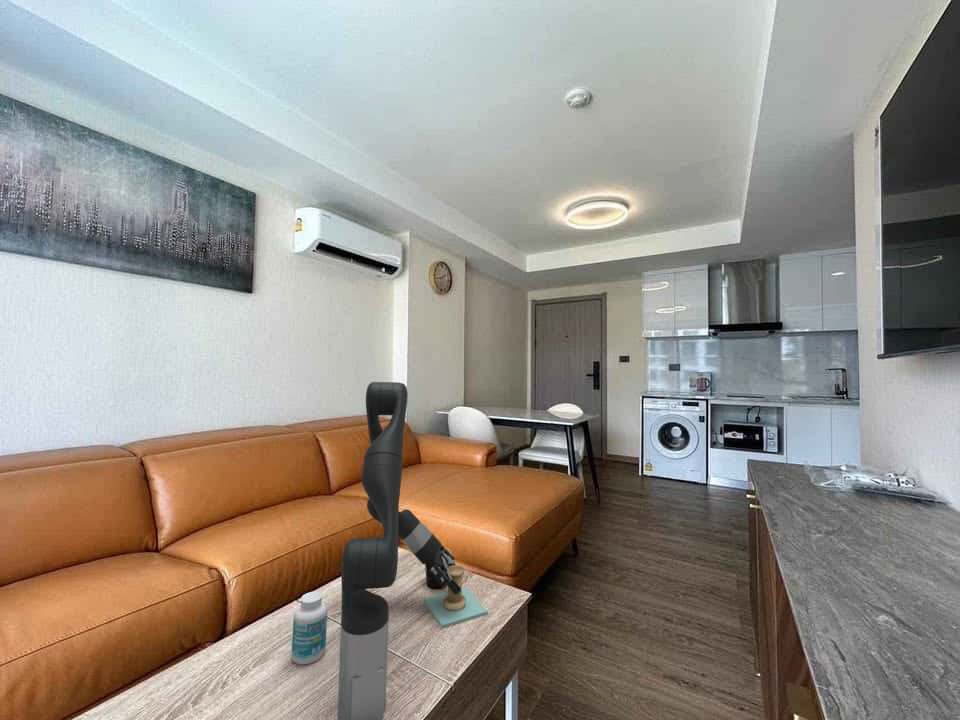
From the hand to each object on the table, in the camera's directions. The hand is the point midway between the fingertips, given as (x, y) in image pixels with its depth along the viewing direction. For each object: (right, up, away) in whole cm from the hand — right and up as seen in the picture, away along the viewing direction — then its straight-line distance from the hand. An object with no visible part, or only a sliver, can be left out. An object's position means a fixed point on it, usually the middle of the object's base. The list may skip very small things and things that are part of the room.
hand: (460, 583), depth 113 cm
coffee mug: (-8, -7, +13) cm, 17 cm away
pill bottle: (-35, -5, -21) cm, 41 cm away
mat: (-2, -7, 0) cm, 7 cm away
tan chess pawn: (-2, -6, 0) cm, 6 cm away
